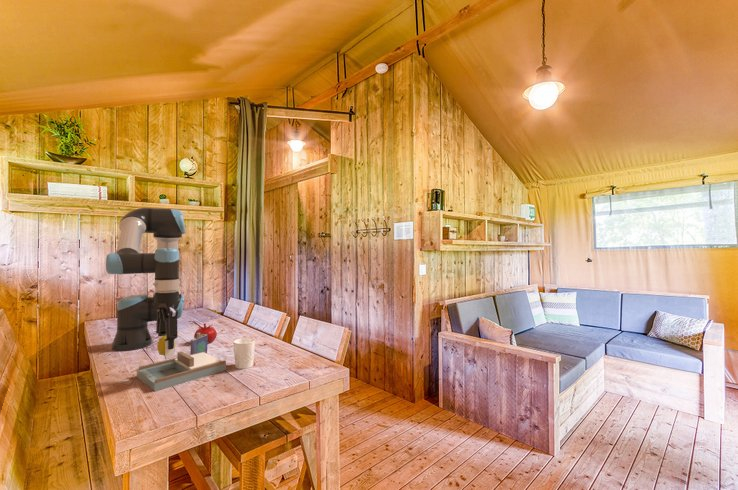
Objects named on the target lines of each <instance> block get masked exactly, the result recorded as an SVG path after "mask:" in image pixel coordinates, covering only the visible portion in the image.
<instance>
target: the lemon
mask: <svg viewBox="0 0 738 490" xmlns="http://www.w3.org/2000/svg"><path fill="white" fill-rule="evenodd" d="M164 339H166V335H165V336H163V337H161V338H160V339H159V338H158V341H157V347H156V349H157V352H158V354H159V353H160V354H161V355H162V356H164V357H165V341H164ZM175 348H176V344H175V345H174V350H175ZM161 355H160V356H161Z"/></svg>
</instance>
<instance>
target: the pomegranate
mask: <svg viewBox="0 0 738 490" xmlns="http://www.w3.org/2000/svg"><path fill="white" fill-rule="evenodd" d="M196 333H197V334H198V333H201V334H200V335H202V334H207V335H208V341H207V344H209V343H213V342H214V341H215V340H216V338H217V335H218V332H217V330H216V329H215V328H214V327H213V326H212V325H208V326H207V323H203V326H201V325H200V326H198V328H197V329H196V331H195V333H194V335H193V338H195V337H197V334H196Z"/></svg>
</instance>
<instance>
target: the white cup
mask: <svg viewBox="0 0 738 490" xmlns="http://www.w3.org/2000/svg"><path fill="white" fill-rule="evenodd" d="M255 347H256V338H251V337H243V338H238V339H235V340H234V341H233V355H234V356H233V358H234V367H235V368H236V369H239V370H244V369H250V368H252V367H253V366H254V358H255V349H256V348H255Z"/></svg>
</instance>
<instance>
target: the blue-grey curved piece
mask: <svg viewBox="0 0 738 490" xmlns="http://www.w3.org/2000/svg"><path fill="white" fill-rule="evenodd" d="M196 334H197V333H196ZM200 334H201V333H198V334H197V337H195V338H194V337H193V338H191V339H190V354H194V353H199V352H203V351H206V353H207V354H208V343H207V341H208V335H207V334H202V335H200ZM190 354H189V355H190Z"/></svg>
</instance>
